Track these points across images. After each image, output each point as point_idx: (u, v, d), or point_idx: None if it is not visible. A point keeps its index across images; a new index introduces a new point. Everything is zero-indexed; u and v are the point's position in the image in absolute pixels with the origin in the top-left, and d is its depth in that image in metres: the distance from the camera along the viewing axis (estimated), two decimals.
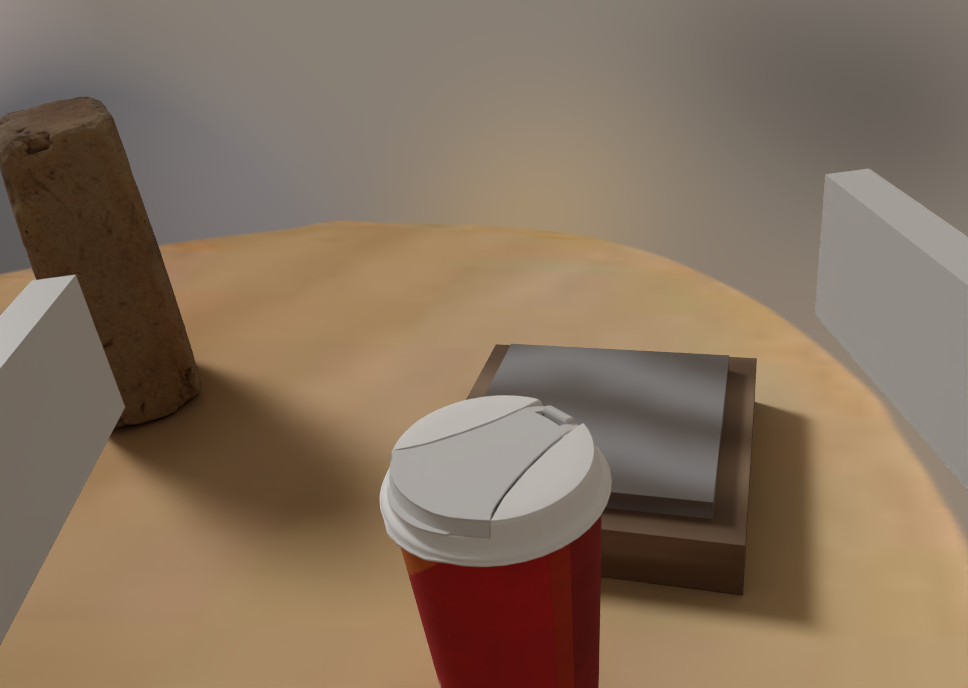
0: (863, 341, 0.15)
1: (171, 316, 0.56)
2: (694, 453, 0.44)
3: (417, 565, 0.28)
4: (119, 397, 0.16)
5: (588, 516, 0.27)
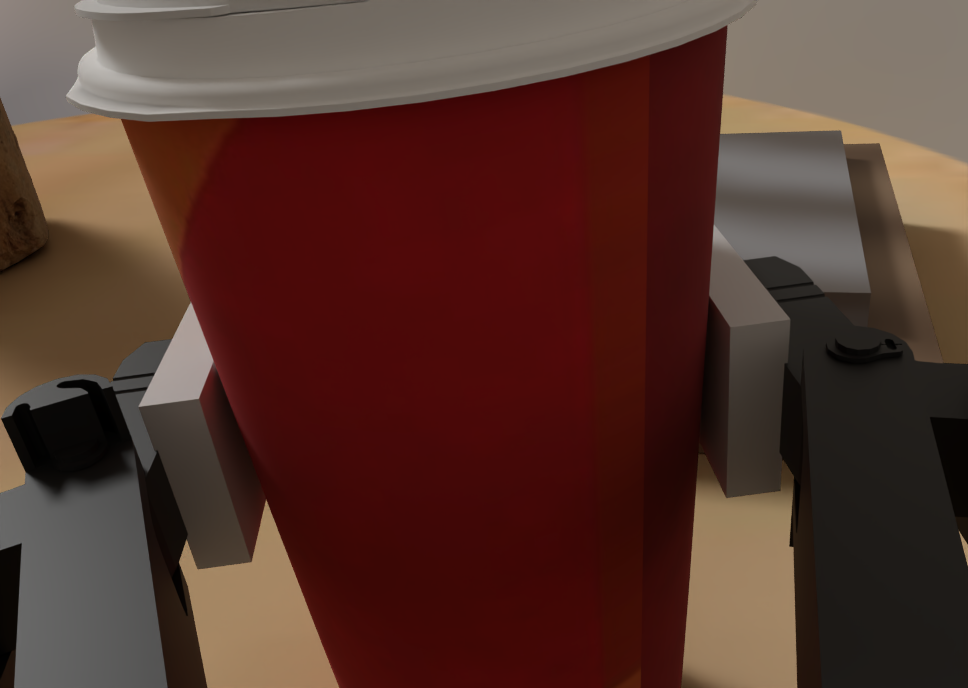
0: None
1: None
2: (816, 235, 0.25)
3: (173, 214, 0.09)
4: None
5: None
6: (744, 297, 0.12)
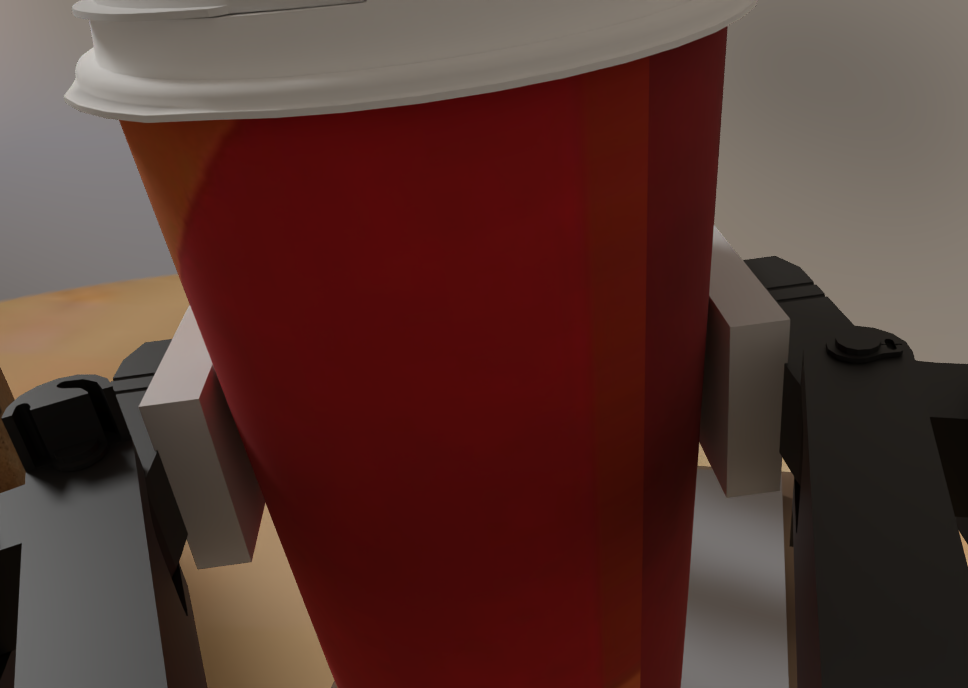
0: None
1: None
2: (749, 662, 0.27)
3: (171, 216, 0.09)
4: None
5: None
6: (744, 297, 0.12)
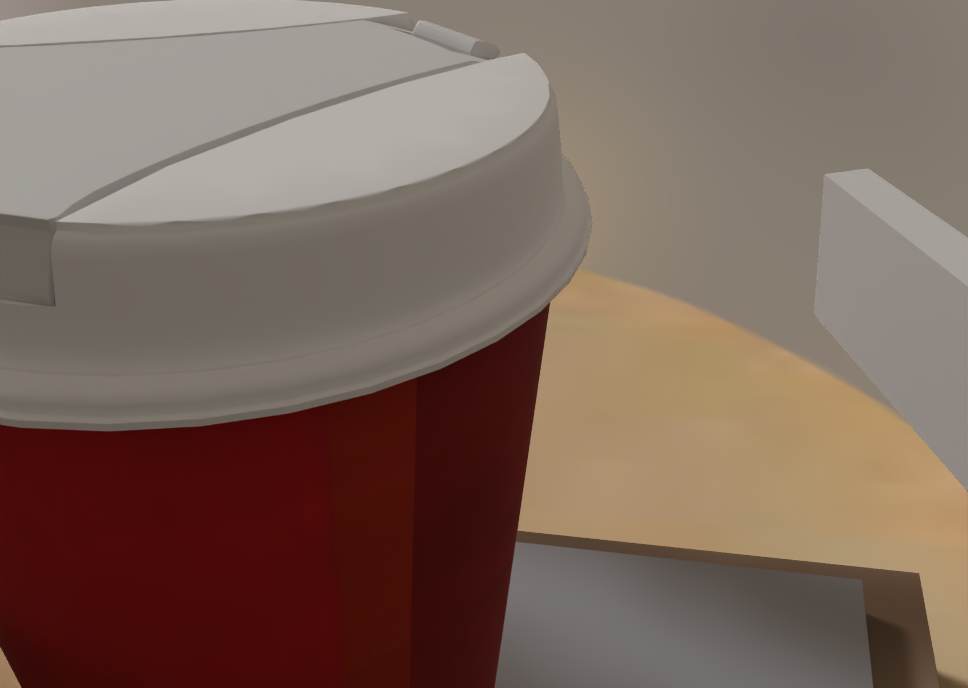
0: (862, 341, 0.15)
1: None
2: None
3: None
4: None
5: (497, 299, 0.07)
6: None
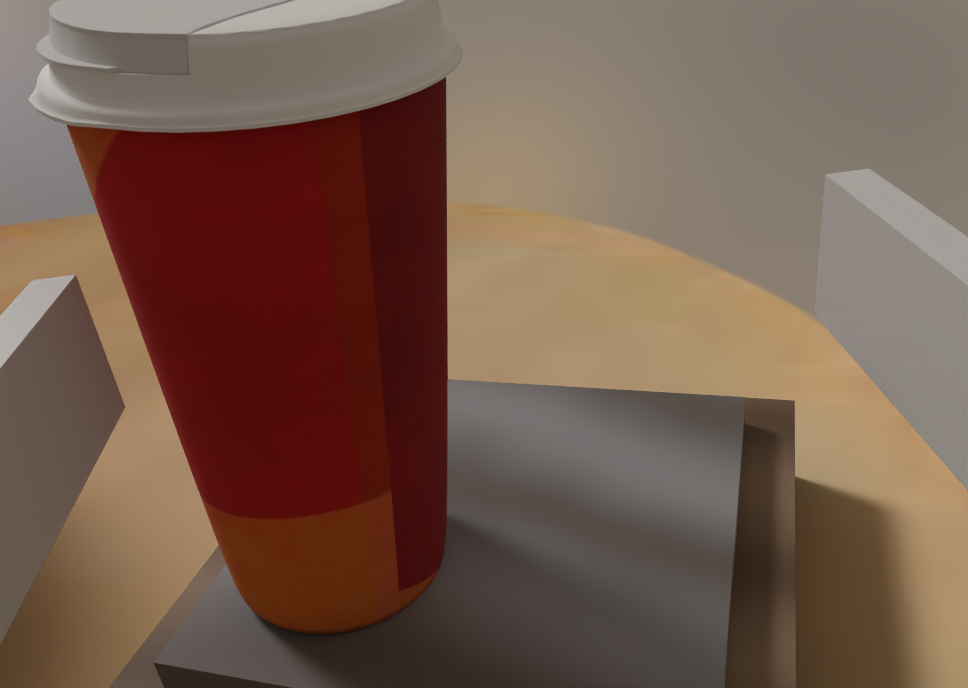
0: (863, 341, 0.15)
1: None
2: (677, 620, 0.20)
3: (90, 174, 0.15)
4: (119, 397, 0.16)
5: (397, 80, 0.14)
6: None
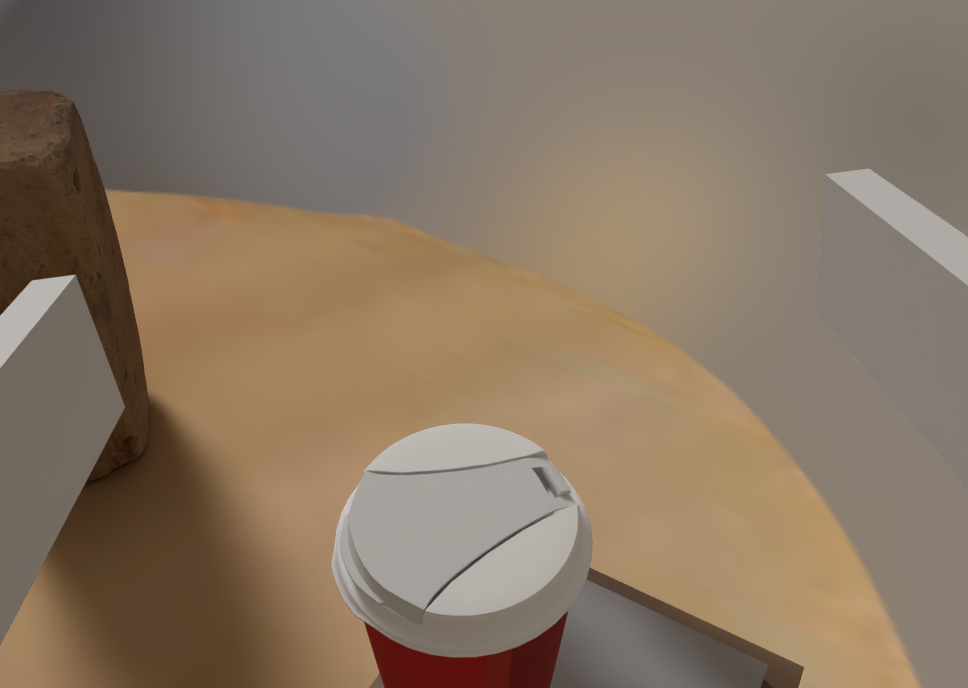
0: (863, 341, 0.15)
1: None
2: None
3: None
4: (119, 397, 0.16)
5: (538, 625, 0.24)
6: None
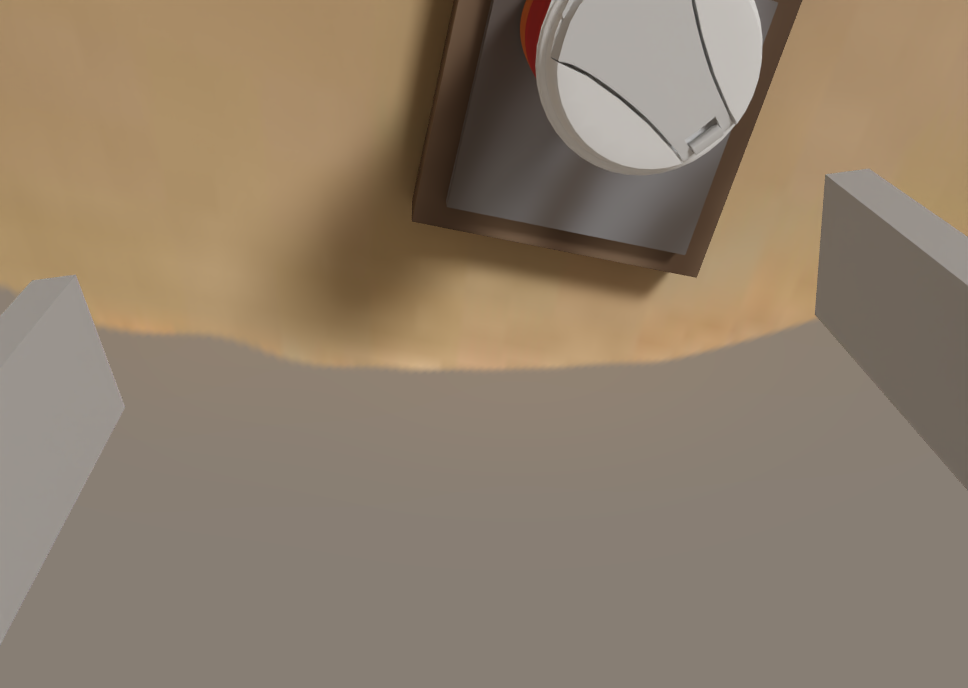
0: (863, 341, 0.15)
1: None
2: (518, 199, 0.45)
3: None
4: (119, 397, 0.16)
5: (575, 147, 0.30)
6: None
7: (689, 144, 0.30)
